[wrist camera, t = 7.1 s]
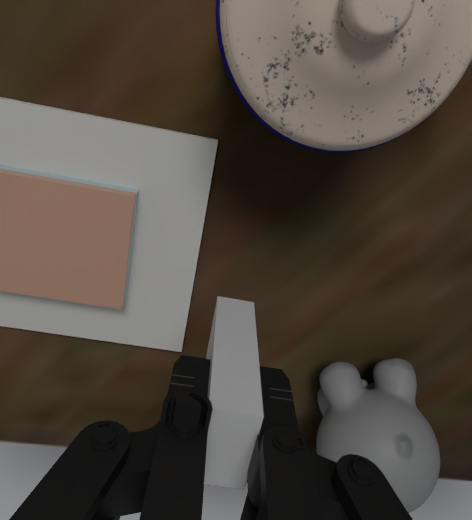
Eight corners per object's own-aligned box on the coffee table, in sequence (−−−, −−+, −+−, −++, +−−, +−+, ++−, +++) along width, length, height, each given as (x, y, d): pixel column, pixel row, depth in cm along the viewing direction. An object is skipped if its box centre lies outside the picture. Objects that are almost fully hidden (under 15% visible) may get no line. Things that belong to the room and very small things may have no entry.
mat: (218, 139, 24) (218, 140, 24) (182, 347, 29) (181, 352, 29) (-125, 72, 22) (-132, 72, 22) (-98, 307, 28) (-104, 310, 27)
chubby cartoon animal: (294, 429, 36) (307, 550, 30) (315, 348, 28) (338, 494, 22) (380, 429, 36) (410, 550, 30) (427, 348, 28) (481, 493, 22)
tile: (133, 196, 23) (-42, 165, 22) (121, 309, 26) (-36, 285, 25) (139, 189, 25) (-26, 159, 24) (127, 297, 27) (-22, 273, 26)
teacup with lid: (210, 119, 24) (201, 152, 13) (227, -82, 20) (233, -264, 10) (420, 143, 25) (574, 192, 14) (471, -47, 21) (728, -177, 10)
